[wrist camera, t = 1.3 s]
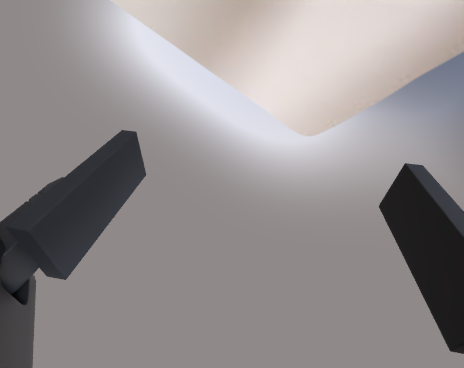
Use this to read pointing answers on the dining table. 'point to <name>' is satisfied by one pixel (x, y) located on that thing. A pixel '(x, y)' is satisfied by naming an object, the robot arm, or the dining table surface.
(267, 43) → the dining table surface
